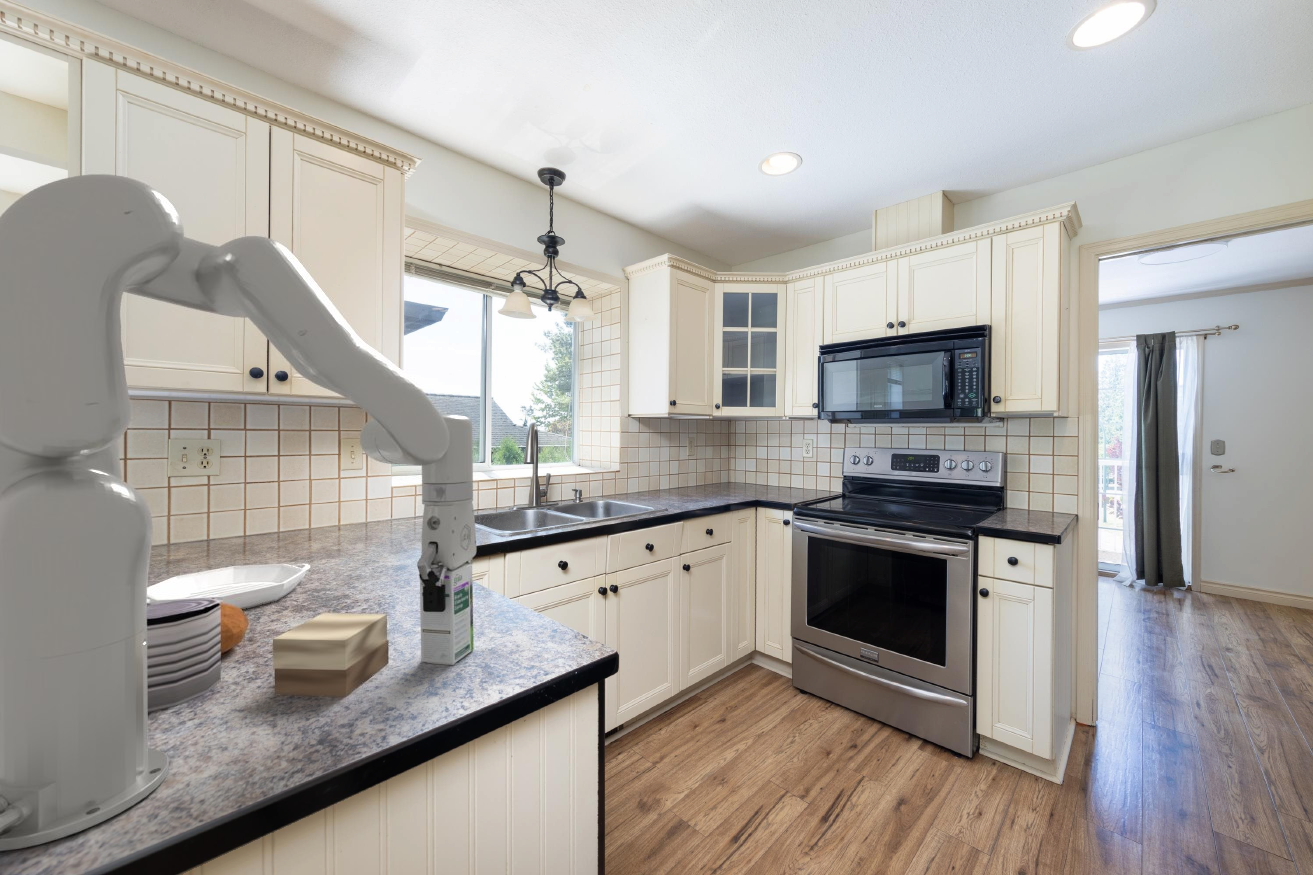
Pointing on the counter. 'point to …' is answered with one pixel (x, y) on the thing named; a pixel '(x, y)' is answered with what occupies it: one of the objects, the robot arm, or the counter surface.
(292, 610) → the counter surface
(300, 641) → the tower top block
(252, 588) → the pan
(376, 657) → the tower base block
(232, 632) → the potato
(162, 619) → the can
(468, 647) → the syrup box
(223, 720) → the counter surface
